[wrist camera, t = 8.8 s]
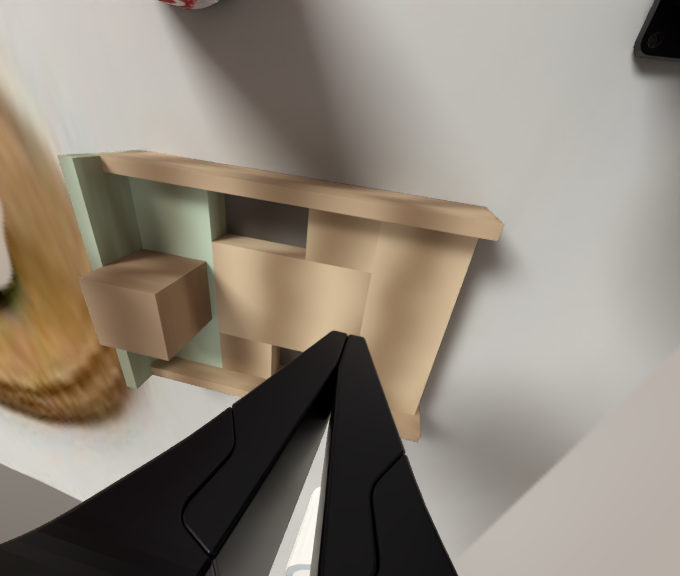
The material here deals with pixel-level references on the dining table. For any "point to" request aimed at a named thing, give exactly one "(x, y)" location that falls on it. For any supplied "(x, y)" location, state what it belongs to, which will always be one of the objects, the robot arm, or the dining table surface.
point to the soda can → (190, 3)
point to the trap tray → (284, 265)
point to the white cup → (304, 540)
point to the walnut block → (148, 302)
